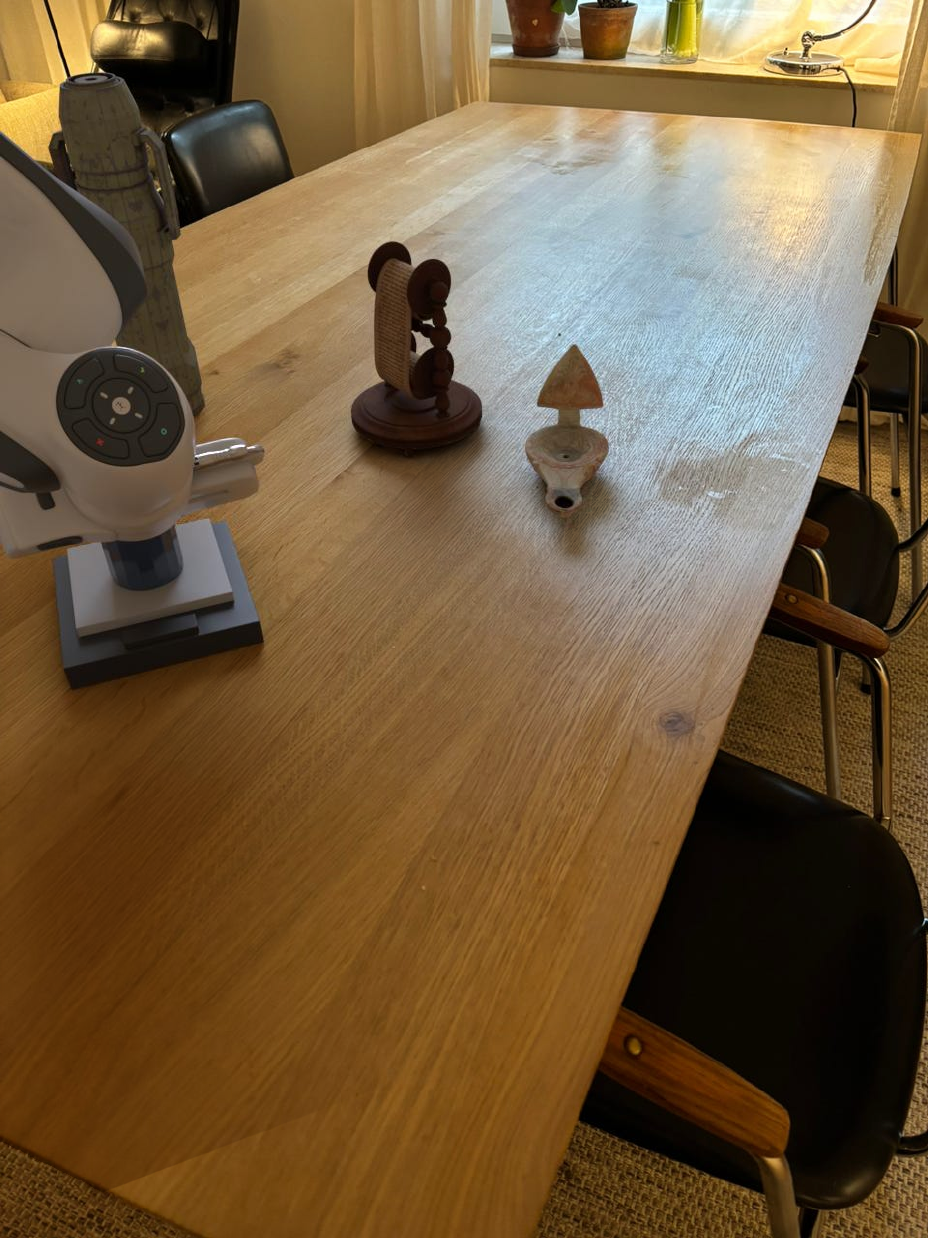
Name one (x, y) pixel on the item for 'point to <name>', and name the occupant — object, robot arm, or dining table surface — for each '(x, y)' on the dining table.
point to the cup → (145, 561)
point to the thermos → (129, 209)
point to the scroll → (412, 359)
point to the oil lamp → (568, 433)
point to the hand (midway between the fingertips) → (133, 519)
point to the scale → (153, 609)
